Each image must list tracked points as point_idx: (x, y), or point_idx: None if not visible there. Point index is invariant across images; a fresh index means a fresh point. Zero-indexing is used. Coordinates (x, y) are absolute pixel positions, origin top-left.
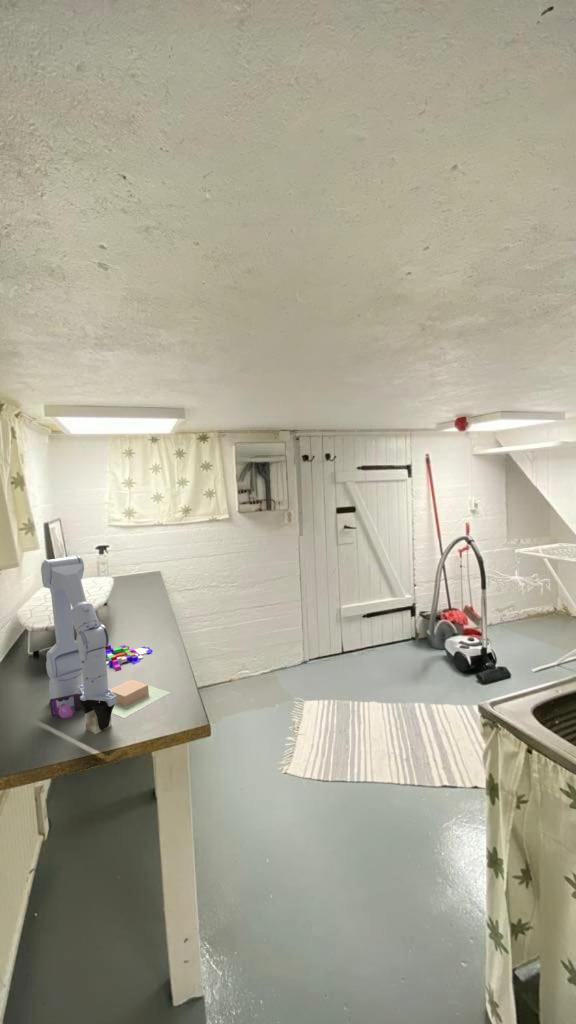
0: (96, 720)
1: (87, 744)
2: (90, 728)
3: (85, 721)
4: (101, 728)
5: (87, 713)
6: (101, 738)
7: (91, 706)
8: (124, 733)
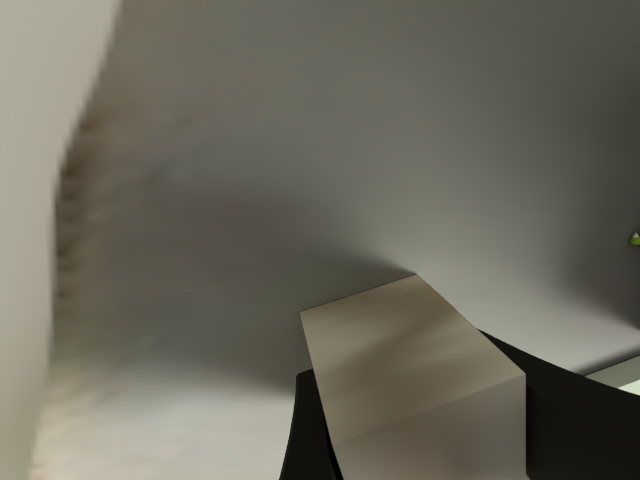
0: (328, 428)
1: (255, 248)
2: (379, 321)
3: (468, 323)
4: (297, 387)
5: (512, 396)
6: (263, 337)
7: (572, 476)
8: (213, 451)
